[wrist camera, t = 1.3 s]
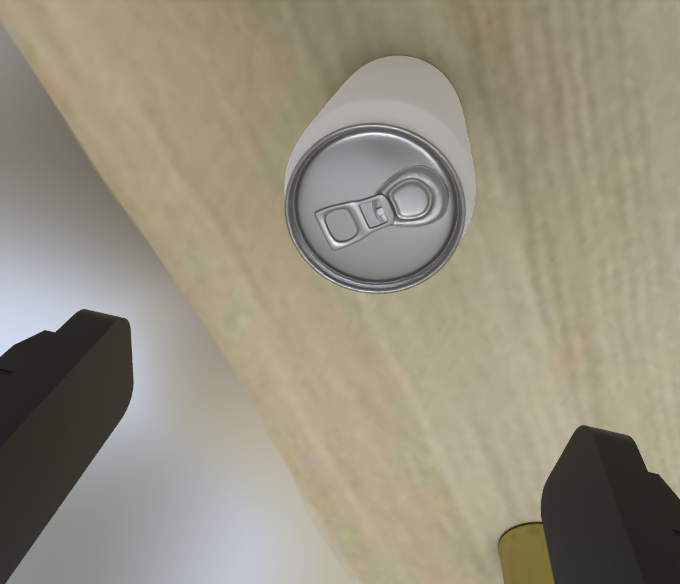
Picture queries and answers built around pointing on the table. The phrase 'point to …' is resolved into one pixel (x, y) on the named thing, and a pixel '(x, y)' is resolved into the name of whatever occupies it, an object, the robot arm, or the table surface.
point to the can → (382, 179)
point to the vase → (525, 556)
